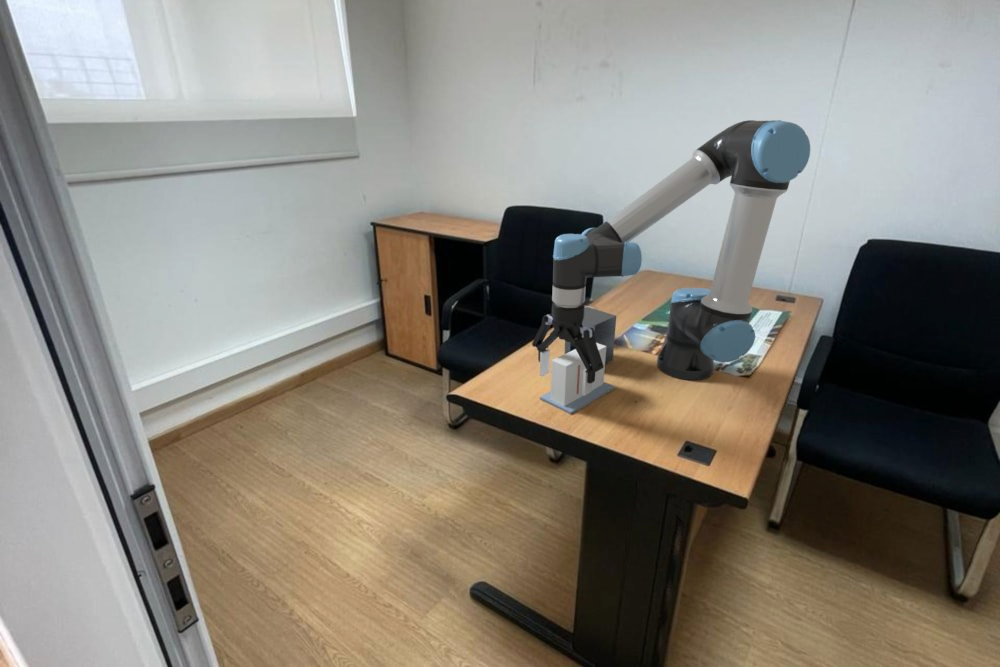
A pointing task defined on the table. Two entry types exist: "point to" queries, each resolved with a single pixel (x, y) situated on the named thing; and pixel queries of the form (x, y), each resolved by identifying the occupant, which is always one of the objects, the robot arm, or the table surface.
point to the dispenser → (599, 330)
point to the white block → (572, 376)
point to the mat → (580, 401)
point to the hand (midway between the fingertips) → (564, 383)
